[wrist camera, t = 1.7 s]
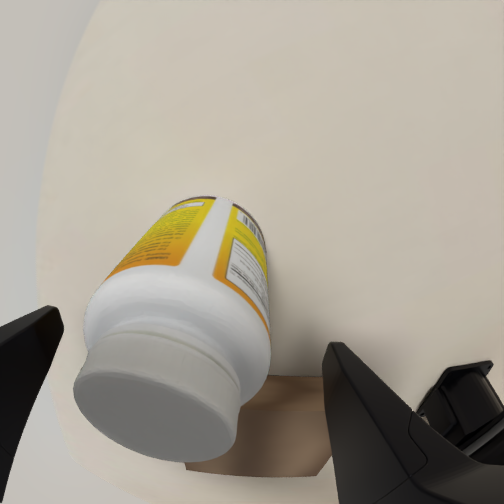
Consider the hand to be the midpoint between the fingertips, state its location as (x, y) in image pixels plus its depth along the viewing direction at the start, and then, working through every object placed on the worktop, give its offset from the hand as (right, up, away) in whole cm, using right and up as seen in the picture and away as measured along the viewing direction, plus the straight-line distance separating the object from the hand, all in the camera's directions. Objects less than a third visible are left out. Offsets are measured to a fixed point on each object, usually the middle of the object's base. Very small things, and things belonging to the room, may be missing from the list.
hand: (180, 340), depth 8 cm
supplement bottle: (0, +3, +6) cm, 7 cm away
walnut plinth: (+3, -11, +13) cm, 17 cm away
